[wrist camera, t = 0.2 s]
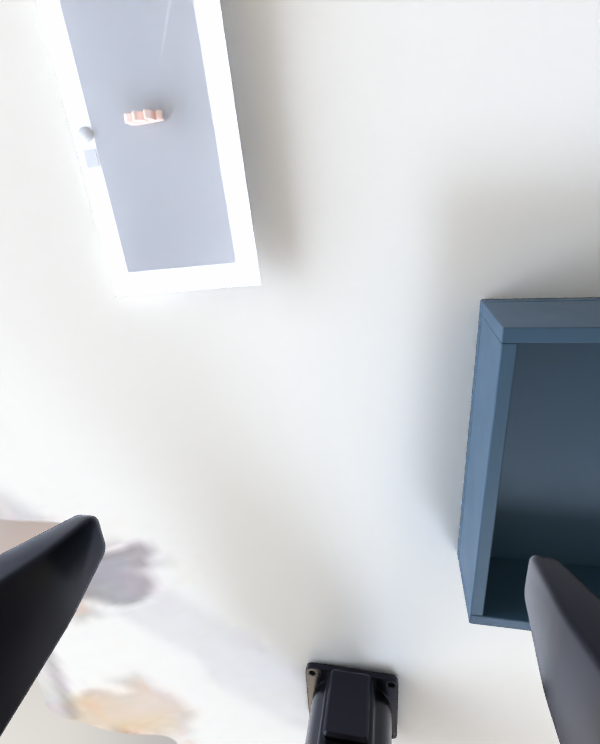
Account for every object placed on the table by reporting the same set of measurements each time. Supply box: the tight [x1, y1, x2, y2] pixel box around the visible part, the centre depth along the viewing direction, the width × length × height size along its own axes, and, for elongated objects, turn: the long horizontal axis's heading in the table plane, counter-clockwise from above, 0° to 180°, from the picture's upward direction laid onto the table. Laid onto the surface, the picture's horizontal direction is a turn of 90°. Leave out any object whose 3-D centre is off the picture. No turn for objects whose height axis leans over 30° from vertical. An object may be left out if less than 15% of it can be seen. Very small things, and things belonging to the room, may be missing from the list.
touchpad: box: [36, 0, 261, 297], centre depth 19 cm, size 8×15×2 cm, turn 7°
